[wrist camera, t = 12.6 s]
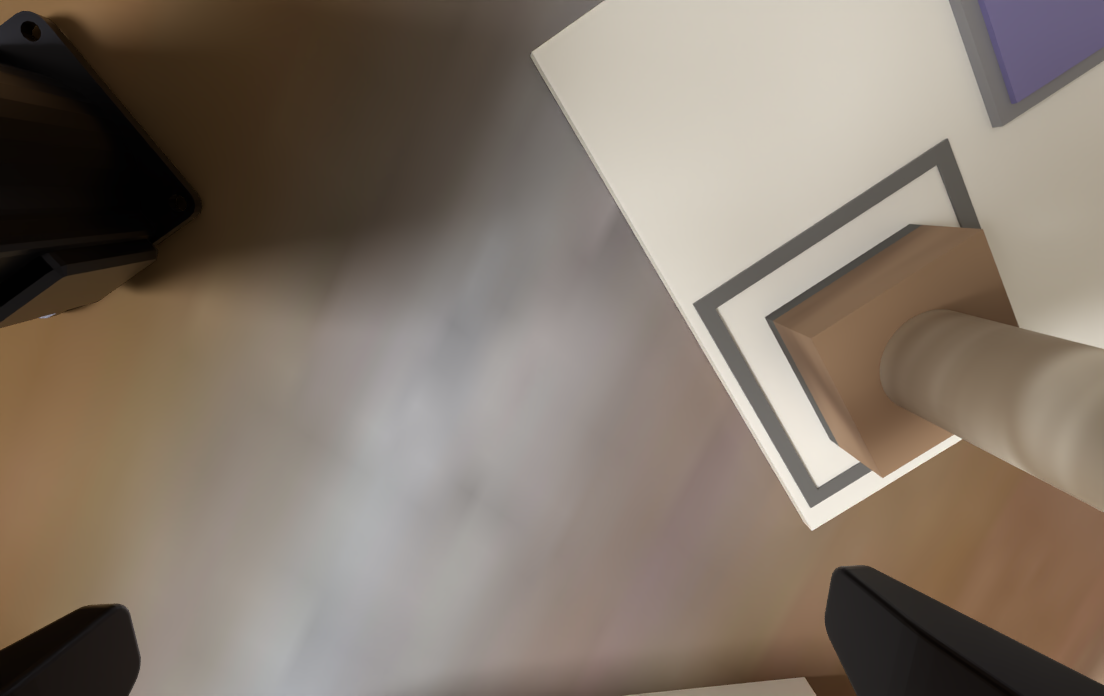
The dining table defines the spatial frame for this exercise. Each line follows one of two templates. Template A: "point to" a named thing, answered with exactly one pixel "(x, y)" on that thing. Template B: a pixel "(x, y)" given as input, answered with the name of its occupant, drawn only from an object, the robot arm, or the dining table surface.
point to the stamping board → (840, 169)
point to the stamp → (943, 363)
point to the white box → (746, 689)
